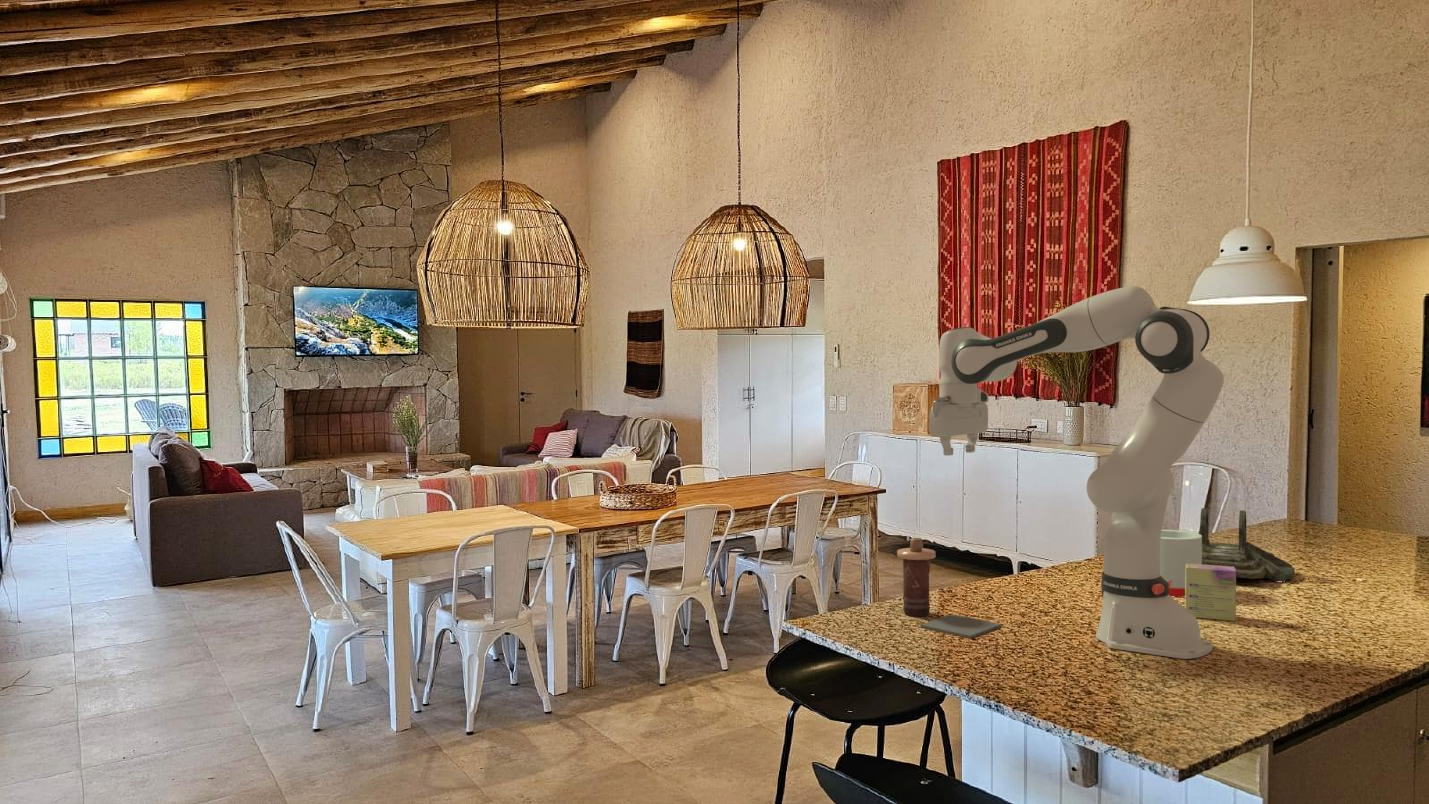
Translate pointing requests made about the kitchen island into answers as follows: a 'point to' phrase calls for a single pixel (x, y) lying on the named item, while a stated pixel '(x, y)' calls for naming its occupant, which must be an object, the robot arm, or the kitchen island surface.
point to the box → (1210, 591)
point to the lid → (916, 551)
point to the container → (1178, 557)
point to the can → (916, 587)
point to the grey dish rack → (1242, 555)
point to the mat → (961, 626)
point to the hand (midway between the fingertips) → (959, 453)
